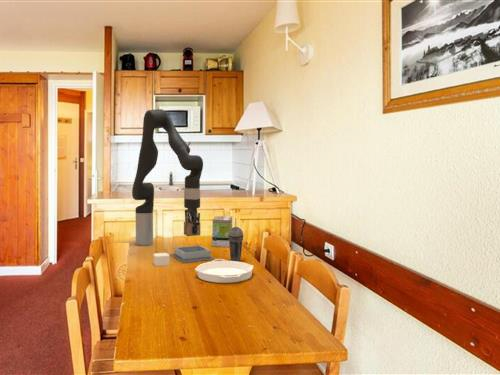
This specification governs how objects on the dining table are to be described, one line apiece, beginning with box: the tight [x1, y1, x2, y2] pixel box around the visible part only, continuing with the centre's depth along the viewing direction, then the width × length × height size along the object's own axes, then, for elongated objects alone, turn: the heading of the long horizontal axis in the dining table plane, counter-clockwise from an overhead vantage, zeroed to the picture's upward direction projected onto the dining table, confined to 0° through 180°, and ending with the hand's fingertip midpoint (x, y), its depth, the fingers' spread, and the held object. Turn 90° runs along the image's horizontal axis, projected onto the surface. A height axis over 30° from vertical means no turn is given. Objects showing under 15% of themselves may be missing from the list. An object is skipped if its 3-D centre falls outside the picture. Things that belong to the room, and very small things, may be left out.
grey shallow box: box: [169, 244, 216, 264], centre depth 210 cm, size 18×16×4 cm
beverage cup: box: [228, 217, 245, 262], centre depth 205 cm, size 7×7×20 cm
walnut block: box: [183, 221, 201, 237], centre depth 209 cm, size 6×6×6 cm
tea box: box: [211, 215, 233, 248], centre depth 241 cm, size 15×10×15 cm
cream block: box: [152, 252, 171, 267], centre depth 197 cm, size 6×6×4 cm
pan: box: [194, 258, 255, 284], centre depth 180 cm, size 24×27×4 cm
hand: (192, 232), depth 209 cm, fingers closed on walnut block, 6 cm apart
